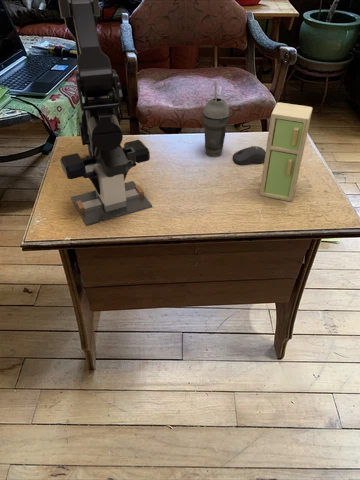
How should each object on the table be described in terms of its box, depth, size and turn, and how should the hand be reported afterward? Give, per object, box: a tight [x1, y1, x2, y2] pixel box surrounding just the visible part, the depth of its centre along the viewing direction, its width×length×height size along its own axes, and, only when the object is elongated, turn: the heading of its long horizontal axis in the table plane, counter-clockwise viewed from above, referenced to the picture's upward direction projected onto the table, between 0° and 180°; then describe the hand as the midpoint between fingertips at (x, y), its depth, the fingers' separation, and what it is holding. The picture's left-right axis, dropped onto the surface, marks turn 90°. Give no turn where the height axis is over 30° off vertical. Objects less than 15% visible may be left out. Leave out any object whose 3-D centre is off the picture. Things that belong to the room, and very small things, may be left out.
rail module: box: [93, 164, 127, 212], centre depth 94 cm, size 7×5×9 cm
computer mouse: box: [232, 145, 266, 166], centre depth 112 cm, size 6×9×4 cm, turn 98°
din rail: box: [70, 180, 153, 227], centre depth 97 cm, size 12×16×2 cm
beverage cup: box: [202, 79, 231, 158], centre depth 109 cm, size 7×7×20 cm
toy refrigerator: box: [259, 102, 313, 202], centre depth 94 cm, size 8×7×21 cm
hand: (109, 191), depth 95 cm, fingers closed on rail module, 5 cm apart
